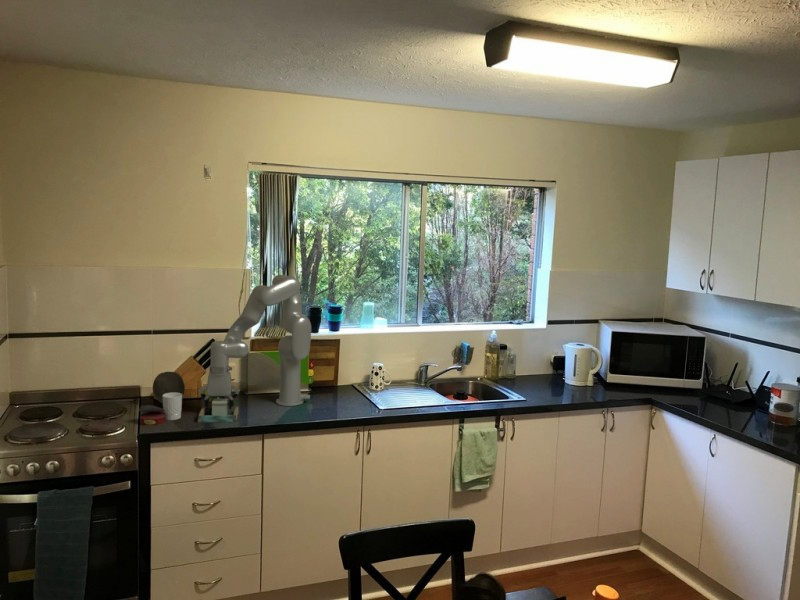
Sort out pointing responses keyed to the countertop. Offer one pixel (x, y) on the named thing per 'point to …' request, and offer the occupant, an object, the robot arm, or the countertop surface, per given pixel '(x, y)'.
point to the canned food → (152, 415)
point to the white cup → (172, 405)
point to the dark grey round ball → (167, 384)
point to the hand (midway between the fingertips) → (219, 408)
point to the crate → (220, 407)
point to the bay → (217, 417)
